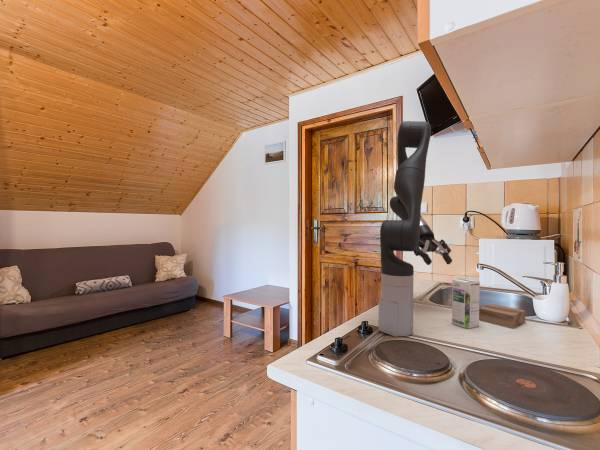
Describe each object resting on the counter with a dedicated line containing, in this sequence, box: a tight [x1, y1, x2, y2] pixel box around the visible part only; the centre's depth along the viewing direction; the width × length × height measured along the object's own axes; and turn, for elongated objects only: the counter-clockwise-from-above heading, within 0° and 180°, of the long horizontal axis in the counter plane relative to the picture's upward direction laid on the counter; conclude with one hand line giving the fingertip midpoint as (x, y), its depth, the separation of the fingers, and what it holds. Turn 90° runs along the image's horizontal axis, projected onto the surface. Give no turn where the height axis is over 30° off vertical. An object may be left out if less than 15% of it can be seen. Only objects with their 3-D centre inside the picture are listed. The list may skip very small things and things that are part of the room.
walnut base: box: [479, 303, 526, 329], centre depth 97 cm, size 10×10×4 cm
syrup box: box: [451, 277, 481, 329], centre depth 93 cm, size 6×6×14 cm
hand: (440, 263), depth 104 cm, fingers open, 8 cm apart
